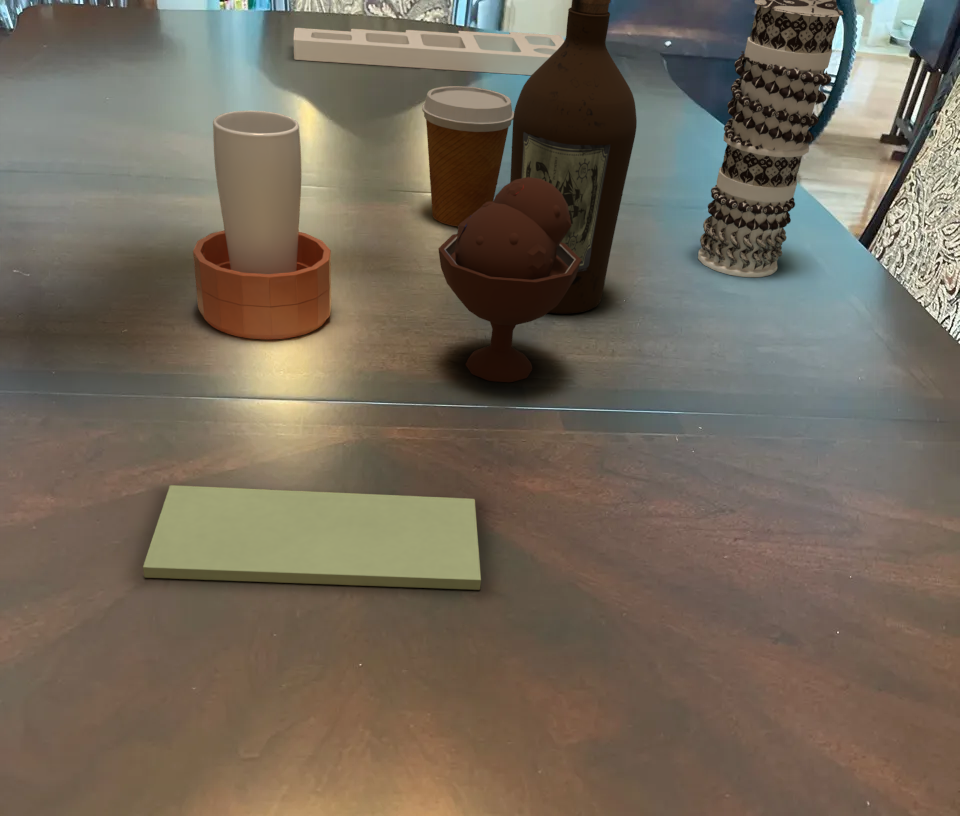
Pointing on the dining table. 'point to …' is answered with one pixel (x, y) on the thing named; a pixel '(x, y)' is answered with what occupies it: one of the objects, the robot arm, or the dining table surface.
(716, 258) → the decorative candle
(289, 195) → the drinking glass
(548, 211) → the ice cream bowl
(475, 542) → the mat
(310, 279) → the pot
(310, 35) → the holder
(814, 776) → the dining table surface
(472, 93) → the disposable coffee cup
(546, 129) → the olive oil
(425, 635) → the dining table surface
